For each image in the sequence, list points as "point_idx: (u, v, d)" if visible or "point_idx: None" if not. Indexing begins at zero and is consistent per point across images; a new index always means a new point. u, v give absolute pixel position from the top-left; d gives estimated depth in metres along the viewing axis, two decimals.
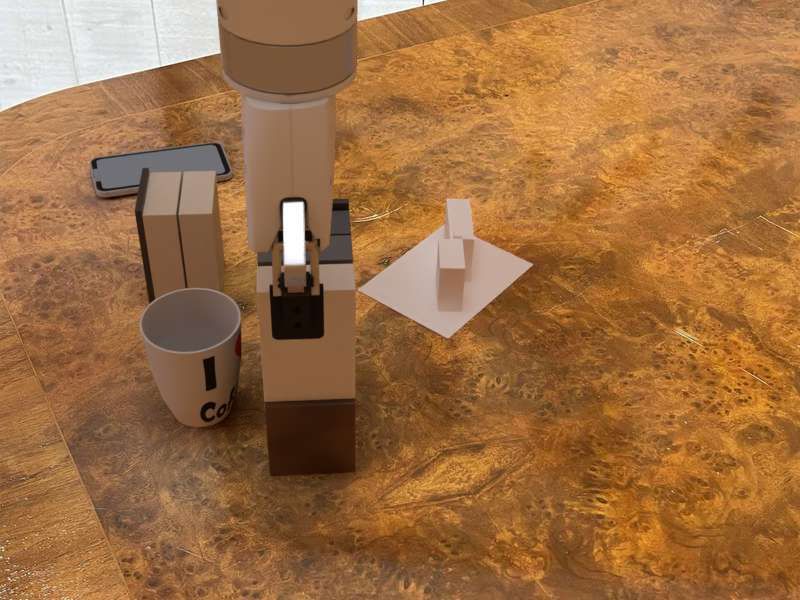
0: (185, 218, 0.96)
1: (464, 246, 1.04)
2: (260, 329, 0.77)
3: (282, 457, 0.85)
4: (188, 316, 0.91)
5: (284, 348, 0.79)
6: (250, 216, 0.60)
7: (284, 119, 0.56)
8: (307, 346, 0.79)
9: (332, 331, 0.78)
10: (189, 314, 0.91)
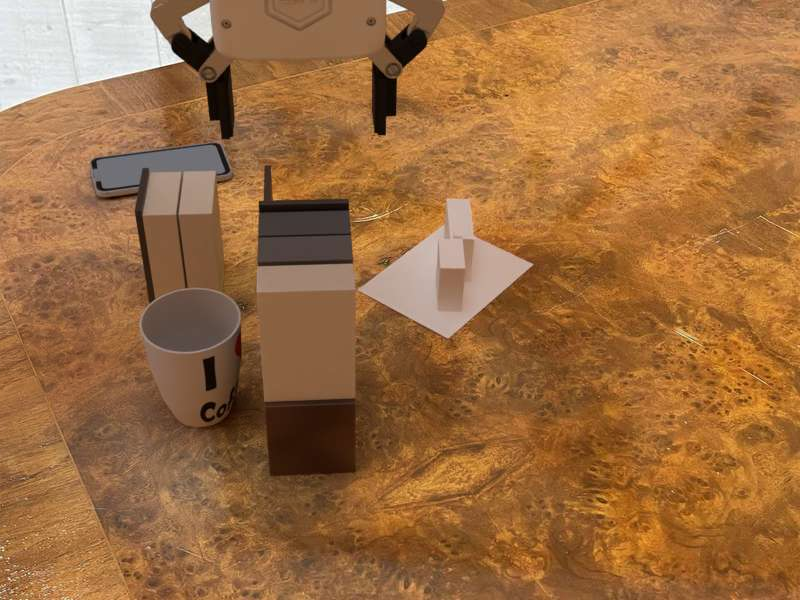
0: (185, 218, 0.96)
1: (464, 246, 1.04)
2: (260, 329, 0.77)
3: (282, 457, 0.85)
4: (188, 316, 0.91)
5: (284, 348, 0.79)
6: (383, 7, 0.61)
7: None
8: (307, 346, 0.79)
9: (332, 331, 0.78)
10: (189, 314, 0.91)
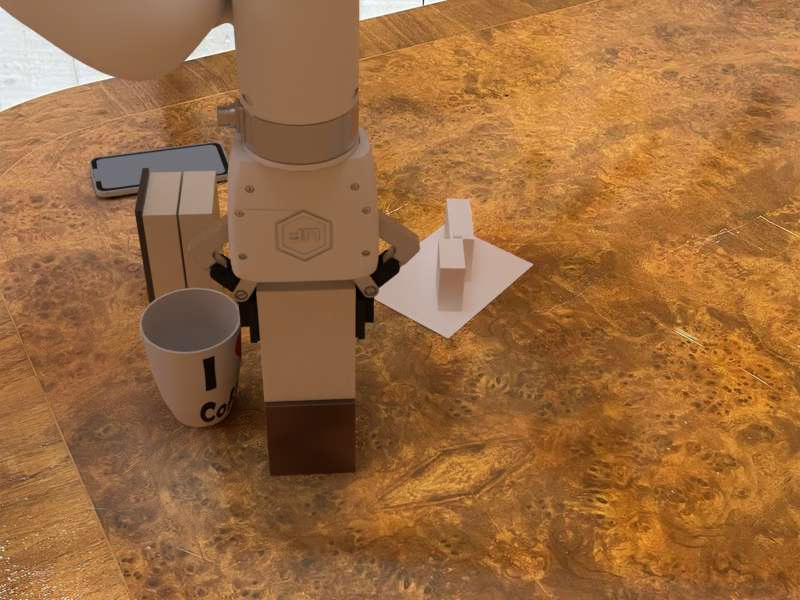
0: (185, 218, 0.96)
1: (464, 246, 1.04)
2: (260, 329, 0.77)
3: (282, 457, 0.85)
4: (188, 316, 0.91)
5: (284, 348, 0.79)
6: (376, 241, 0.72)
7: None
8: (307, 346, 0.79)
9: (332, 331, 0.78)
10: (189, 314, 0.91)
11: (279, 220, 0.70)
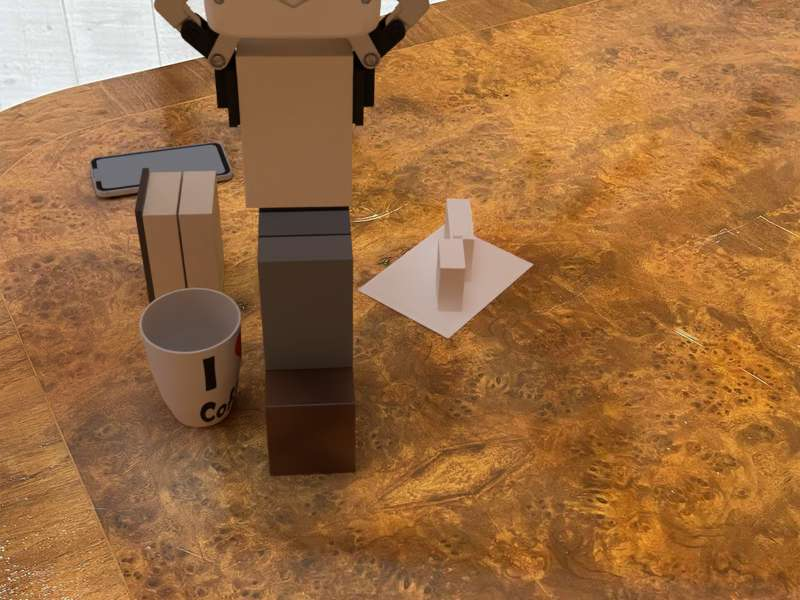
0: (185, 218, 0.96)
1: (464, 246, 1.04)
2: (240, 108, 0.66)
3: (282, 457, 0.85)
4: (188, 316, 0.91)
5: (269, 134, 0.67)
6: None
7: None
8: (295, 133, 0.67)
9: (325, 113, 0.66)
10: (189, 314, 0.91)
11: None
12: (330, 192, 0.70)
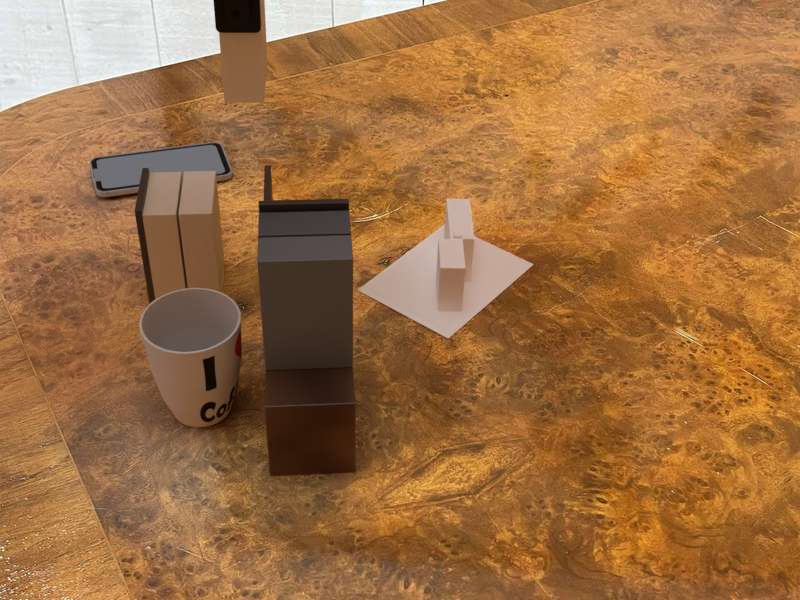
0: (185, 218, 0.96)
1: (464, 246, 1.04)
2: None
3: (282, 457, 0.85)
4: (188, 316, 0.91)
5: (261, 23, 0.79)
6: None
7: None
8: (262, 12, 0.80)
9: None
10: (189, 314, 0.91)
11: None
12: None
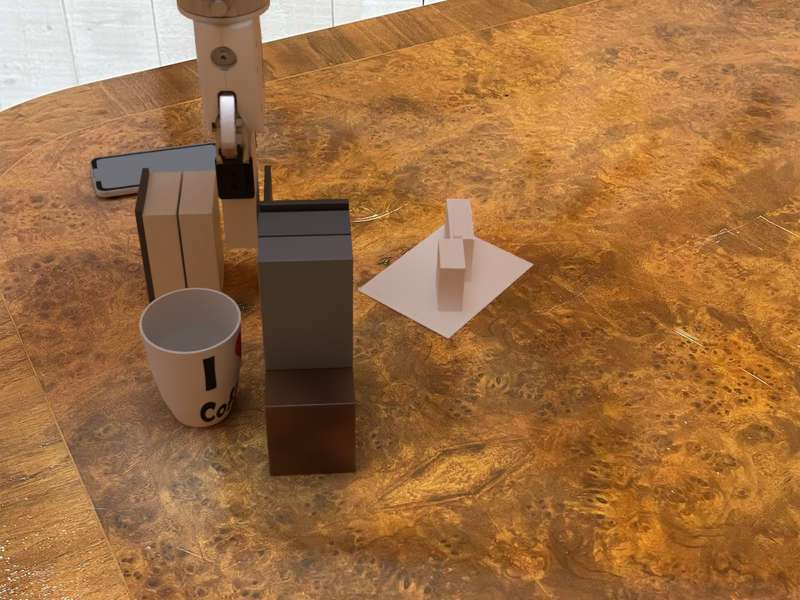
0: (185, 218, 0.96)
1: (464, 246, 1.04)
2: None
3: (282, 457, 0.85)
4: (188, 316, 0.91)
5: (255, 186, 0.96)
6: None
7: None
8: None
9: (255, 152, 0.98)
10: (189, 314, 0.91)
11: (261, 60, 0.89)
12: None
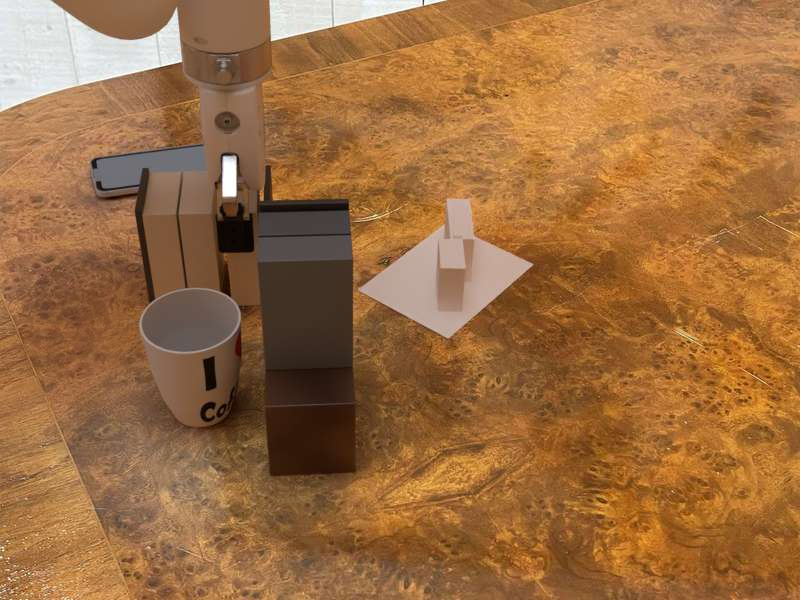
0: (185, 218, 0.96)
1: (464, 246, 1.04)
2: None
3: (282, 457, 0.85)
4: (188, 316, 0.91)
5: None
6: None
7: None
8: None
9: None
10: (189, 314, 0.91)
11: (262, 122, 0.92)
12: None
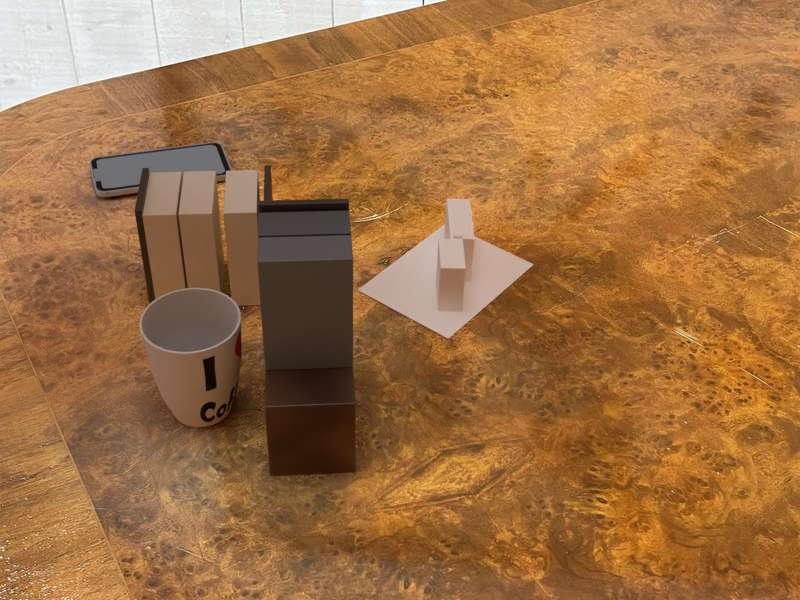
0: (185, 218, 0.96)
1: (464, 246, 1.04)
2: None
3: (282, 457, 0.85)
4: (188, 316, 0.91)
5: None
6: None
7: None
8: None
9: None
10: (189, 314, 0.91)
11: None
12: None
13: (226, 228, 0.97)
